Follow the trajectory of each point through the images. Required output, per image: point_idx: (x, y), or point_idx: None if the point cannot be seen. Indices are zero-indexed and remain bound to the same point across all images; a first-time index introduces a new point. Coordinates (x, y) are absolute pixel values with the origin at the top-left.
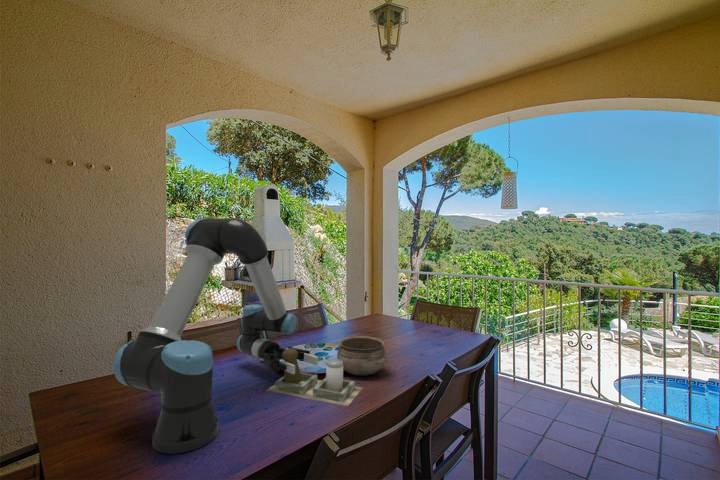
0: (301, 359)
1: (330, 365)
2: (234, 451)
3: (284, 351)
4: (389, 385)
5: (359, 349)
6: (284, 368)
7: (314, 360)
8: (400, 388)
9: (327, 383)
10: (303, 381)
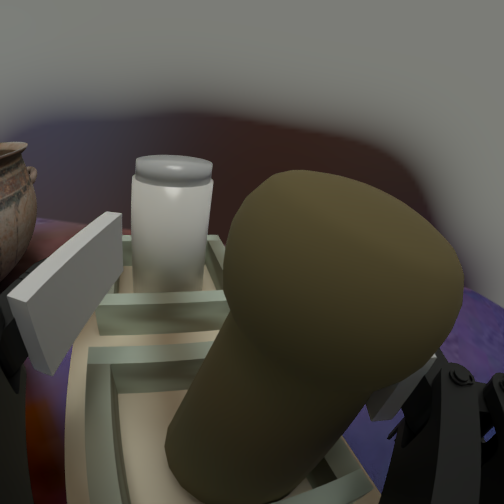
0: (23, 407)
1: (211, 170)
2: (485, 318)
3: (447, 244)
4: (44, 233)
5: (26, 146)
6: None
7: (113, 247)
8: (58, 221)
9: (203, 256)
10: (127, 449)
